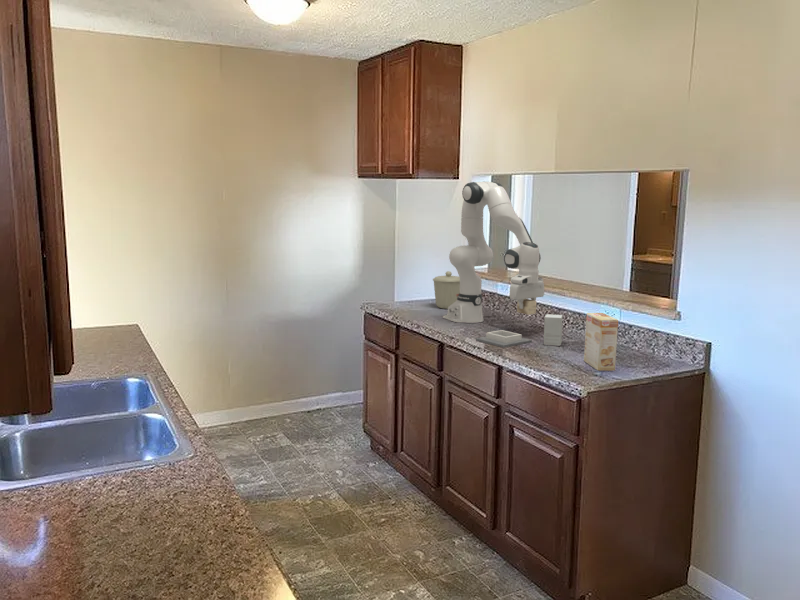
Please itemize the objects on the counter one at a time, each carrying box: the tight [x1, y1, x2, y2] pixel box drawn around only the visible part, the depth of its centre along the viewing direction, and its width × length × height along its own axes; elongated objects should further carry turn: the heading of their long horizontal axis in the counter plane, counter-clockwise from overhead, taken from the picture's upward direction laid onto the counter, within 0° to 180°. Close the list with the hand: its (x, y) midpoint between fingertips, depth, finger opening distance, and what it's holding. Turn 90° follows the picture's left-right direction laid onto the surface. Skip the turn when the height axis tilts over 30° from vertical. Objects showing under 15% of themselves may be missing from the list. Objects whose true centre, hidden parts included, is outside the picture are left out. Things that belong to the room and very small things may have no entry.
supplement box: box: [543, 313, 563, 347], centre depth 289 cm, size 7×7×13 cm
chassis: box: [475, 329, 533, 348], centre depth 294 cm, size 17×18×4 cm
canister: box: [432, 270, 460, 310], centre depth 378 cm, size 18×18×21 cm
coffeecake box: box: [583, 312, 619, 372], centre depth 252 cm, size 15×7×20 cm, turn 5°
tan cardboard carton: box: [516, 298, 537, 316], centre depth 304 cm, size 7×5×6 cm
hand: (526, 307), depth 304 cm, fingers closed on tan cardboard carton, 5 cm apart
